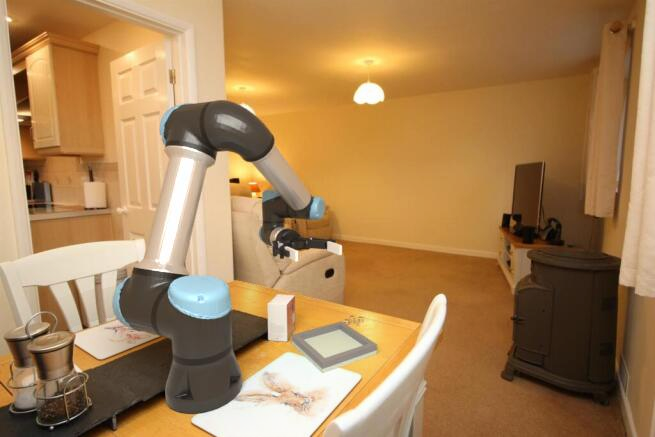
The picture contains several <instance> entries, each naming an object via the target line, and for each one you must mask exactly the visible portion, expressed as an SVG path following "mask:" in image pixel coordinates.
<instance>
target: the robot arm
mask: <svg viewBox="0 0 655 437" xmlns="http://www.w3.org/2000/svg"><path fill="white" fill-rule="evenodd" d="M159 122H160V123H159V135H160V136H161V141H162V143H163V144H164V149H163V151H164V153H165V155H166V156H167V158H168V162H167V167H166V169H165V174H164V178H163V182H162V187H161V189H160V193H159V198H158V201H157V205H156V209H155V214H154V217H153V220H152V224H151V228H150V231H149V236H148V240H147V243H146V246H145V247H146V248H145V252H144V255H143V258H142V260H140V261H139V262H137V263H135V264H134V265H133V267H132V272H131V273H130V275H129V276H127V277H125V278H123V281H122V282H119V283H118V285H117V287H116V289H115V291H114V293H113V296H112V309H113V310H112V311H113V313H114V315H115V316H114V317H115V318H116V319H117V321H119V323H121V324H122V325H123V326H125V327H128V328H130V329H131V330H133V331H137V332H142V333H143V332H144V333H147V334H151V335H155V336H159V337H163V338H167V339H170V340H171V347H172V348H171V349H172V350H171V351H172V362H171V366H170V369H169V373H168V375H167V379H166V383H165V388H164V392H165V403H166V404H167V406H168V407H169V408H170V409H171V410H173V411H175V412H178V413H184V414H199V413H200V414H201V413H205V412H209V411H213V410H216V409H219V408H221V407H222V406H225V405H227V404H228V403H229V402H231V401H232V400H233V399H235V398H237V396H238V394H239V393H240V392H241V390H242V386H243V373H242V369H241V367H240V365H239V361H238V360H237V357H236V355H235V352H234V350H233V348H234V347H233V325H232V324H233V320H232V319H233V311H232V309H233V308H232V307H233V306H232V304H233V303H232V298H231V290H230V287H229V285H228V283H226V281H224V280H223V279H221V278H219V277H216V276H212V275H207V274H202V275H198V274H191V275H190V272H189V271H188V269H187V268H186V266H185V264H186V260H187V256H188V251H189V247H190V243H191V242H190V241H191V239H192V238H191V237H192V233H193V230H194V225H195V221H196V218H197V212H198V209H199V204H200V200H201V195H202V190H203V187H204V182H205V178H206V175H207V170H208V169H209V168H210V167H211V168H212V166H214V165H215V163H216V160H217V155H218V152H230V153H234V154H236V155H238V156H240V157H241V158H242V160H243V161H244V162H246V163H250V164H252V165H253V166H254V167H255V169H257V171H258V172H259V173H260V174H261V176H263V178H264V179H265V180H266V181H267V182H268V183H269V185H271V187H272V188H273V189H265V190H263V191H262V194H261V197H262V198H261V210H262V214H261V215H262V217H261V218H262V225H261V226H260V228H259V230H258V237H259V239H260V241H261V242H262V243H263V244H265V245H267V246H269V247H272V257H273V258H276V257H277V256H278V255H279V259H280V260H284V259H285V258H287V259H289V260H292V261H293V262H295V263H296V262H299V251H302V250H306V251H307V250H308V251H309V250H310V249H315V250H316V249H317V250H326V251H327V252H330V253H333V254H335V255H338V256H342V254H343V245H342V244H339V243H337V240H336V239H333V238H329V239H328V238H322V237H321V238H320V237H314V236H309V237H302V236H301V235H300V233H299V232H298V231H297V230H294V229H290V228H288V227H285V226H286V225H285V224H286V223H285V222H286V221H285V219H295V220H306V221H307V220H309V221H319V220H322V218H324V216H325V213H326V202H325V200H324V198H323V197H321V196H316V195H314V196H312V194H311V193H310V191H309V190H308V189H307V187H306V186H305V184H304V183H303V182H302V180H301V179H300V177H299V176H298V174H296V171H295V170H294V169H293V168H292V166H291V165H290V163H289V162H288V161H287V160H286V158H285V157H284V155H283V154H282V153H281V151H280V150H279V148H278V147H277V145H276V138H275V136H274V135H273V133H272V132H271V131H270V129H269V128H268V127H267V125H266V124H265V122H263V120H261V119H260V118H259V117H258V116H257V115H255V114H254V113H253V112H252V111H250V110H249V109H247V108H246V107H244V106H243V105H241V104H239V103H236V102H235V101H234V102H233V101H231V100H227V99H226V100H225V99H219V100H218V99H217V100H212V101H206V102H205V101H204V102H195V103H194V102H192V103H191V102H187V103H184V102H183V103H181V104H179V105H174V106H172V107H170V108H169V109H167V110H166V111H165V112H164V113H163V115H162V117H161V119H160V121H159Z"/></svg>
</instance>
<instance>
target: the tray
mask: <svg viewBox="0 0 655 437" xmlns="http://www.w3.org/2000/svg"><path fill="white" fill-rule="evenodd" d="M291 344H292V346H293V347H294V348H296V349H297V350H298V352H300V353H301V354H302V355H303V356H304V357H305V358H306V359H307V360H308V361H309V362H310V363H311V364H312V365H313V366H314V367H315V368H316V369H318V371H319V372H321V373H322V374H324V373H323V372H325V373H327V372H330V371H332V370H331V369H333V370H335V369H334V368H336V369H338V368H341V367H344V366H347V365H349V364H353V363H355V362H358V361H361V360H364V359H366V358H370V357H372V356H374V355H377V354H378V344H377V343H375V342H374V341H372V340H371V339H369V338H368V337H367V336H365V335H363V334H362V333H360V332H359V331H357V330H355V329H354V328H352V327H351V326H349V325H346V324H345V323H344V321H341V320H340V321H337V322H334V323H330V324H326V325H323V326H319V327H315V328H312V329H308V330H304V331H301V332H298V333H293V334H292V335H291ZM329 370H330V371H329ZM326 371H327V372H326Z"/></svg>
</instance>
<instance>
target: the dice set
mask: <svg viewBox="0 0 655 437" xmlns="http://www.w3.org/2000/svg"><path fill="white" fill-rule="evenodd" d="M343 323H345V324H346V325H348V326H349V323H350V325H354V324H355V327H357V328H359V327H361V324H363V323H364V317H363V316H358V321H356V322H355V316H354V315H350V316H349V319H347V318H346V319H343Z"/></svg>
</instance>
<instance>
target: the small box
mask: <svg viewBox="0 0 655 437" xmlns="http://www.w3.org/2000/svg"><path fill="white" fill-rule="evenodd" d="M266 306H267V310H266V311H267V340H268V341H271V342H272V341H273V342H274V341H275V342H285V343H287V342H288V341H289V340H290V338H292V335H293V334H294V333H295V331H296V295H293V294H280V293H279V294H278V293H276V295H275V296H274V297H273V298H272V299H271V300H270V301H269V302H267V304H266Z"/></svg>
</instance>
